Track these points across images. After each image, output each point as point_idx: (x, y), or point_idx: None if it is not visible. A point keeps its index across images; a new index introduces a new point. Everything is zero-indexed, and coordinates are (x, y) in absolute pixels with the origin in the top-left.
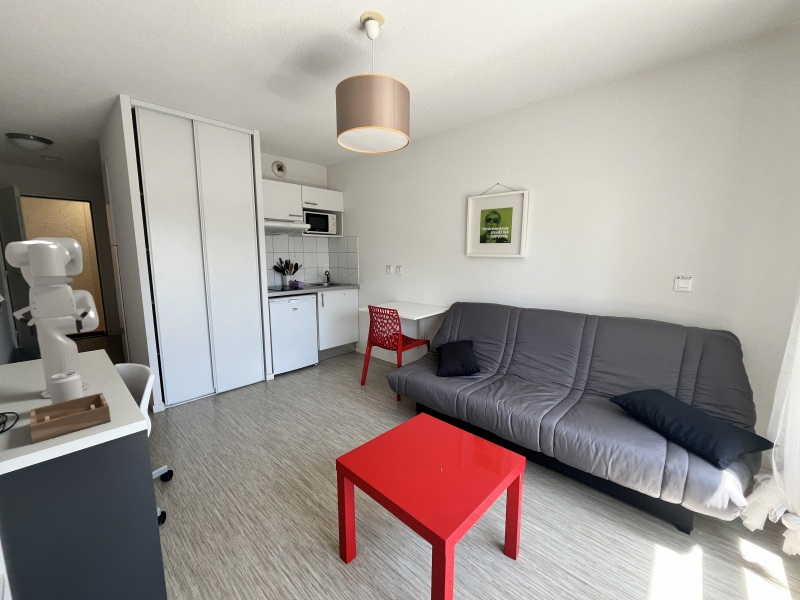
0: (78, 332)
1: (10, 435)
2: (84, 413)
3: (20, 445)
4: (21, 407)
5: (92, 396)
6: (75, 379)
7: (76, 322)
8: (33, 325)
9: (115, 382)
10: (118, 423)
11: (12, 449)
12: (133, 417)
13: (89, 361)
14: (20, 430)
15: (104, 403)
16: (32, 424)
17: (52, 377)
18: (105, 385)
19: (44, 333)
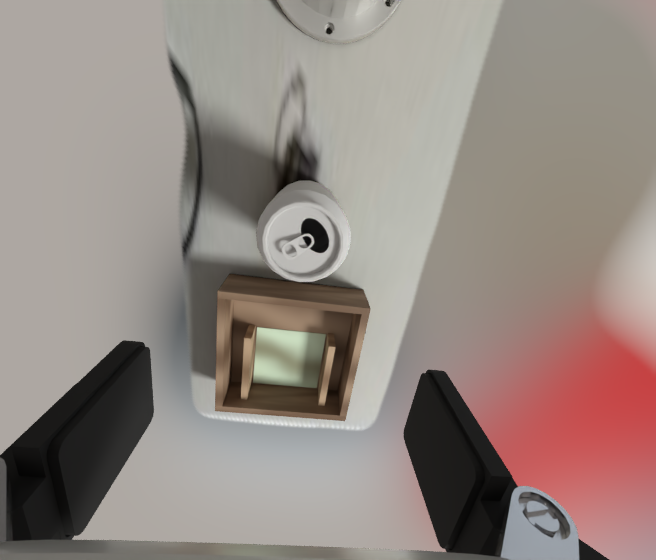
0: (408, 431)
1: (191, 299)
2: (302, 415)
3: (209, 371)
4: (204, 39)
5: (346, 311)
6: (328, 274)
7: (440, 535)
8: (46, 537)
9: (487, 24)
10: (347, 410)
11: (198, 378)
12: (374, 405)
13: None
14: (207, 285)
15: (345, 397)
16: (219, 403)
17: (266, 250)
18: (450, 32)
19: None
